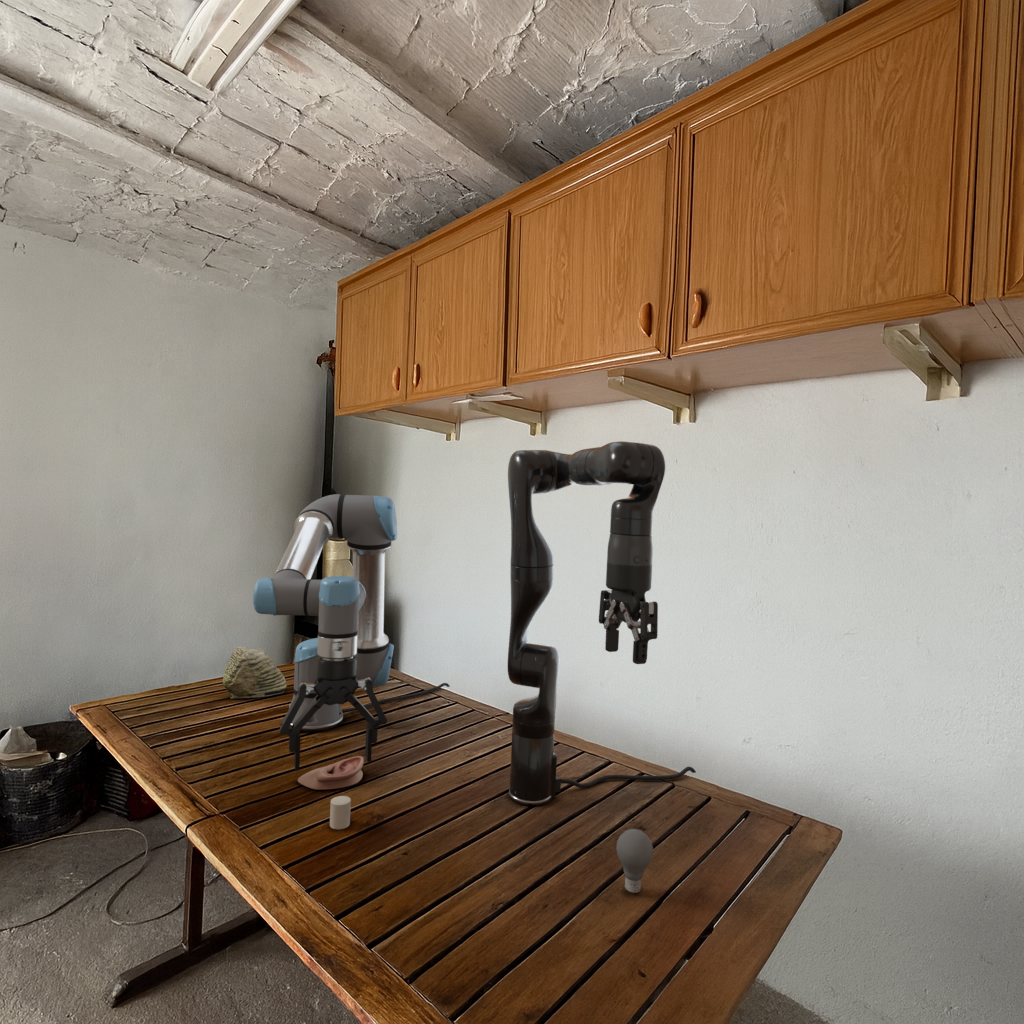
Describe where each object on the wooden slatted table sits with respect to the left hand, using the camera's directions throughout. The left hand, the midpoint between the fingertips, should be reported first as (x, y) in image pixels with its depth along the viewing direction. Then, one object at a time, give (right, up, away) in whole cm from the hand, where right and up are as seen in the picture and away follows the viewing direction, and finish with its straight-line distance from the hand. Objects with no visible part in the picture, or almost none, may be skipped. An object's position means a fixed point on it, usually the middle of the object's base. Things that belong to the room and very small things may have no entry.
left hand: (333, 763), depth 125 cm
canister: (+2, -11, -2) cm, 11 cm away
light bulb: (+55, -14, -19) cm, 60 cm away
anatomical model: (-5, -11, +17) cm, 21 cm away
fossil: (-45, -8, +74) cm, 87 cm away
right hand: (+54, +25, -18) cm, 62 cm away
